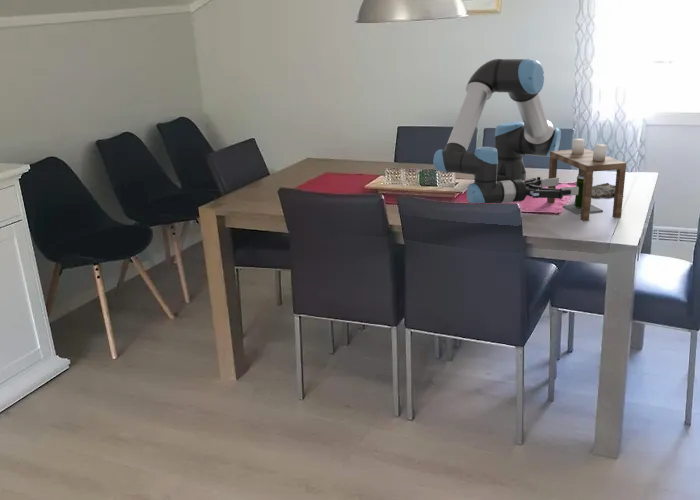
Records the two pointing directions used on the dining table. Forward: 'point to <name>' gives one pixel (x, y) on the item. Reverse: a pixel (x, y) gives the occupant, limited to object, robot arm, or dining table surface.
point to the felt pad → (578, 211)
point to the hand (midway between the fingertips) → (567, 185)
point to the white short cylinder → (578, 146)
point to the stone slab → (603, 191)
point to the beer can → (580, 191)
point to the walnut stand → (590, 176)
